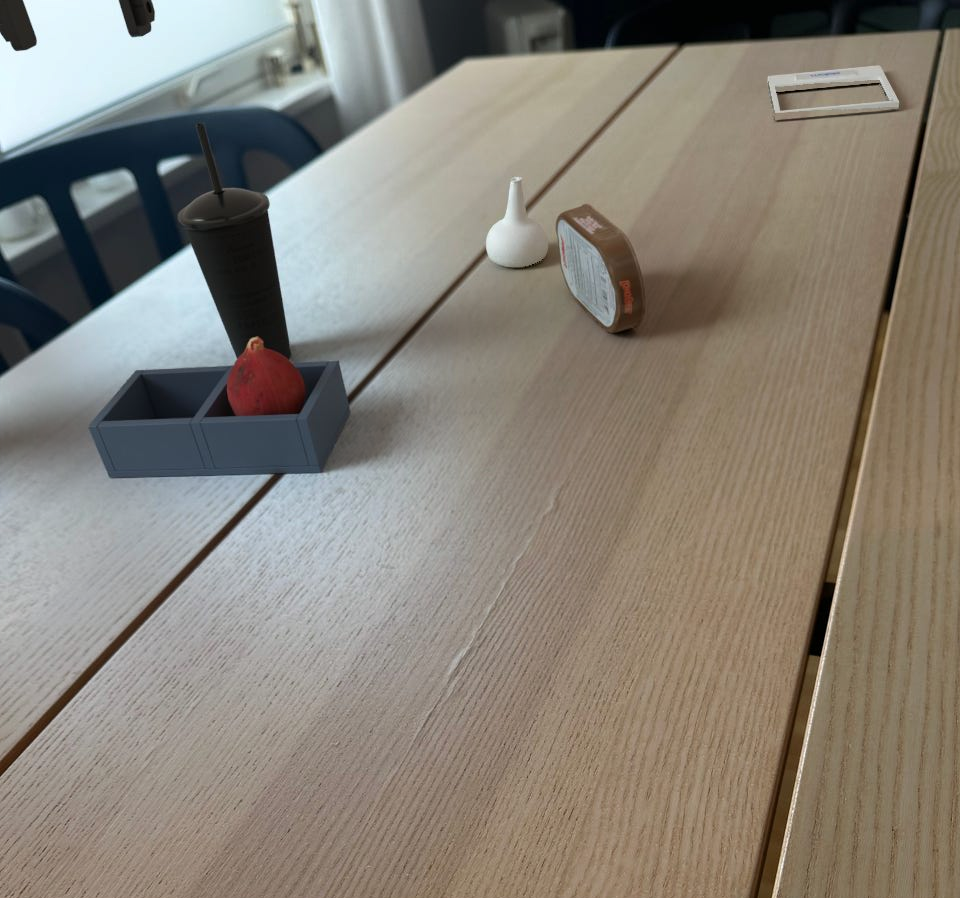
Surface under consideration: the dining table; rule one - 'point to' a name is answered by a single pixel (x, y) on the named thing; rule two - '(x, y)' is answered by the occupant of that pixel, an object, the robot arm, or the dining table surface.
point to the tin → (601, 268)
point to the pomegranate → (264, 383)
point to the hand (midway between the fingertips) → (83, 41)
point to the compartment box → (216, 425)
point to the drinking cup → (238, 260)
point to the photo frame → (834, 76)
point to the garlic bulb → (516, 234)
